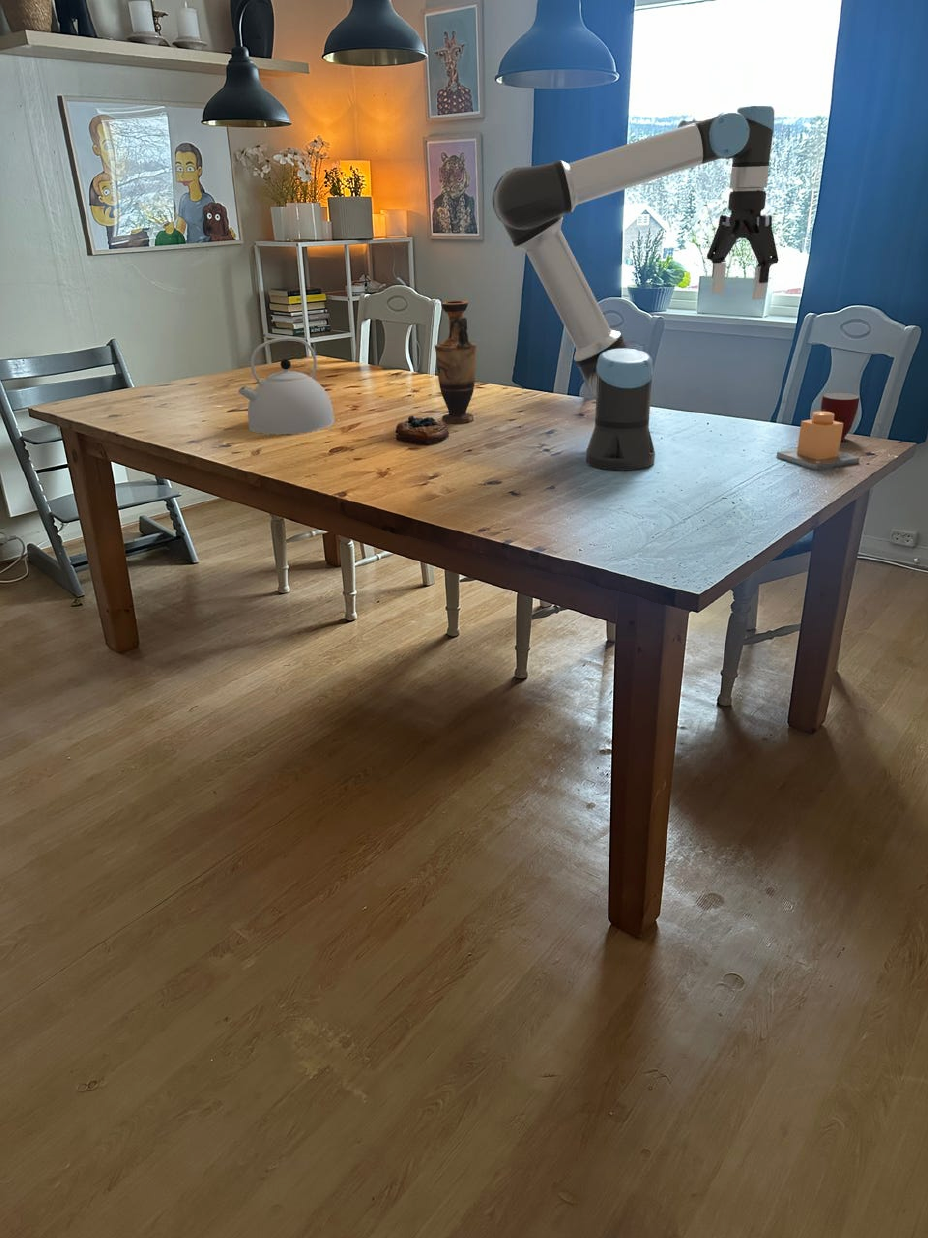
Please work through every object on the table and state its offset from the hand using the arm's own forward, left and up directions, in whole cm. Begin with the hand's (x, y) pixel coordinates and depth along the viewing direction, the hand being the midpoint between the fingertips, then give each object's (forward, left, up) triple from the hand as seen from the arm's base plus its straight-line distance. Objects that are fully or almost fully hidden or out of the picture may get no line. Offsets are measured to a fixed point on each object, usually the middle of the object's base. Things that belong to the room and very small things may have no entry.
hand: (737, 296), depth 197 cm
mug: (+24, -10, -33) cm, 42 cm away
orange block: (+8, -22, -31) cm, 39 cm away
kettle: (-87, +71, -33) cm, 117 cm away
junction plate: (+8, -22, -33) cm, 40 cm away
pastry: (-61, +39, -33) cm, 79 cm away
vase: (-45, +53, -33) cm, 77 cm away
